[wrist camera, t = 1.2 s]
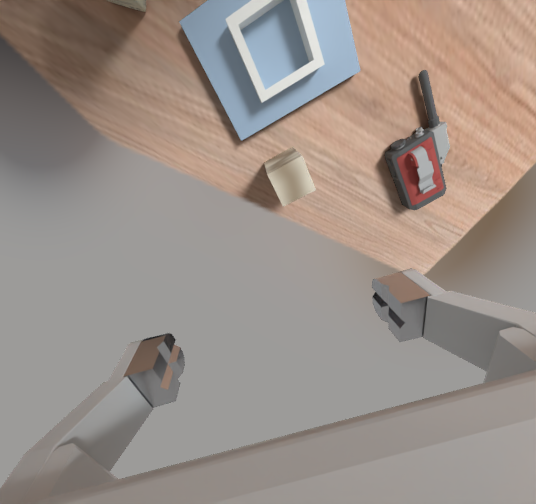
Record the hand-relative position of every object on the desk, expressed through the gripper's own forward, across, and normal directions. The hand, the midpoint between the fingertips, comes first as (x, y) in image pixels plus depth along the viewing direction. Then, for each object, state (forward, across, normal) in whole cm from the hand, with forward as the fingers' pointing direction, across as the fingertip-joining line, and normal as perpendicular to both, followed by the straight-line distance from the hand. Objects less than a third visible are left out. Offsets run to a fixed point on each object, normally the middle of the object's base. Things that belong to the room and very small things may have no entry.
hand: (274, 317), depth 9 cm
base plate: (+30, -8, -16) cm, 35 cm away
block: (+32, -6, -1) cm, 33 cm away
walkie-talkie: (+31, -28, +1) cm, 42 cm away
